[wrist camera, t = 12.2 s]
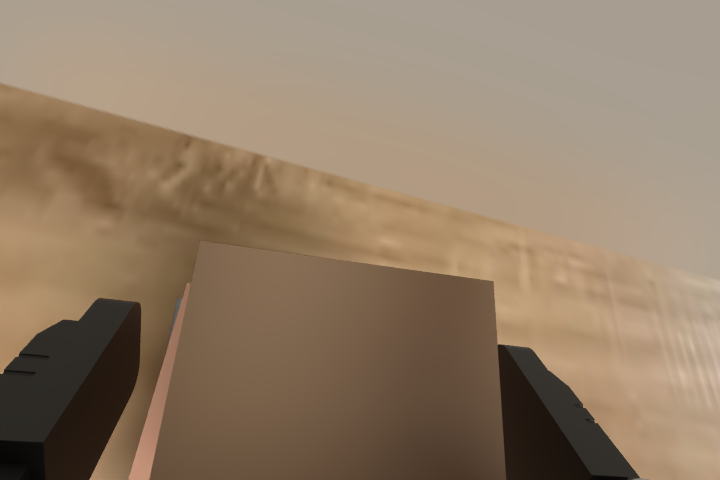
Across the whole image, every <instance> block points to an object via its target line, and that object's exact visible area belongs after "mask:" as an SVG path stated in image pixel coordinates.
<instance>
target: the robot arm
mask: <svg viewBox="0 0 720 480" xmlns="http://www.w3.org/2000/svg"><path fill="white" fill-rule="evenodd" d="M140 332H141V306H140V303H138V302H131V301H122V300H113V299H104V298H98V299H97V300H96V301H95V302H94V303H93V304H92V305H91V307H90V308H89V309H88V310H87V312H86V313H85V314H84V315H83V316H82V318H81V319H80V320H79V321H72V320H62V321H60V322H58V323H57V324H55V325H53V326H51V327H49V328H47V329H46V330H44V331H42V332H40V333H38V334H37V335H36V336H35V337H34V338H33V339H32V340H31V341H30V342H29V343H28V345H27V346H26V347H25V348H24V349H23V350H22V351H21V352H20V353H19V357H15V359H14V360H13V361H12V362H11V363H10V364H9V365H8V366H7V367H6V368H5V369H4V373H3V374H0V480H89V479H90V477H91V475H92V473H93V471H94V469H95V467H96V465H97V463H98V461H99V459H100V457H101V455H102V453H103V451H104V449H105V447H106V445H107V443H108V441H109V439H110V437H111V435H112V433H113V431H114V429H115V427H116V425H117V423H118V421H119V419H120V417H121V415H122V412H123V410H124V408H125V406H126V404H127V402H128V400H129V398H130V396H131V394H132V392H133V389H134V387H135V383H136V380H137V376H138V371H139V363H140ZM498 361H499V376H500V392H501V407H502V423H503V438H504V453H505V469H506V480H648V479H641V478H640V477H639V476H638V475H637V473H636V472H635V471H634V469H633V468H632V467H631V466H630V464H629V463H628V462H627V460H626V459H625V458H624V457H623V455H622V454H621V453H620V452H619V450H618V449H617V448H616V446H615V445H614V444H613V443H612V441H611V440H610V439H609V437H608V436H607V435H606V434H605V432H604V431H603V430H602V428H601V427H600V426H599V425H598V423H595V422H594V420H595V419H594V418H593V417H592V416H591V414H590V413H589V412H588V411H587V409H586V408H583V404H582V403H581V402H580V400H579V399H578V398H577V396H576V395H575V394H574V393H573V391H572V390H571V389H570V387H569V386H567V385H566V384H565V383H564V382H562V381H561V380H560V379H559V378H558V377H556V376H555V375H554V374H553V373H551V372H550V371H548V370H547V368H546V367H545V366H544V364H543V363H542V362H541V360H540V359H539V358H538V356H537V355H536V354H535V352H534V351H533V350H532V349H530V348H527V347H518V346H510V345H500V344H499V345H498Z"/></svg>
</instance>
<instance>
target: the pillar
mask: <svg viewBox="0 0 720 480" xmlns="http://www.w3.org/2000/svg"><path fill="white" fill-rule="evenodd" d="M149 480H506V469H505V453H504V438H503V423H502V407H501V392H500V376H499V361H498V345H497V330H496V314H495V299H494V284H493V281H487V280H480V279H473V278H465V277H458V276H451V275H444V274H437V273H429V272H422V271H415V270H408V269H400V268H393V267H386V266H379V265H372V264H364V263H357V262H350V261H343V260H335V259H328V258H321V257H314V256H307V255H299V254H292V253H285V252H278V251H271V250H263V249H256V248H249V247H242V246H234V245H227V244H220V243H213V242H206V241H200V242H199V247H198V251H197V256H196V261H195V266H194V270H193V275H192V280H191V285H190V289H189V294H188V299H187V303H186V308H185V313H184V318H183V322H182V327H181V332H180V337H179V341H178V346H177V351H176V355H175V360H174V365H173V370H172V374H171V379H170V384H169V389H168V393H167V398H166V403H165V408H164V412H163V417H162V422H161V426H160V431H159V436H158V441H157V445H156V450H155V455H154V460H153V464H152V469H151V474H150V478H149Z"/></svg>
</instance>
